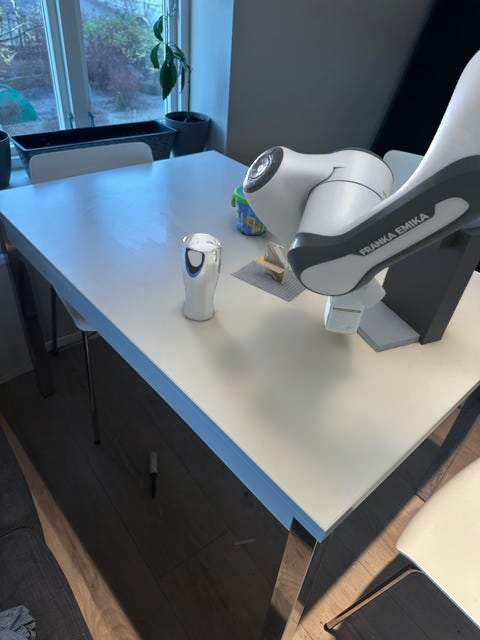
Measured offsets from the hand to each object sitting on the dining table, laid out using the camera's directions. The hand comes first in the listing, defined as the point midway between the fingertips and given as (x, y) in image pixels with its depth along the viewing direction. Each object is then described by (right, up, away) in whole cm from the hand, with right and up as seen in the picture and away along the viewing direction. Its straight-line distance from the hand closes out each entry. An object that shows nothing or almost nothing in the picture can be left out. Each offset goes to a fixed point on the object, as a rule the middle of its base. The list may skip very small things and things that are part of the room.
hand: (353, 284), depth 77 cm
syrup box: (-1, -7, +5) cm, 9 cm away
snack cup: (-17, +17, +40) cm, 47 cm away
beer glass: (-27, -5, +9) cm, 29 cm away
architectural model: (-12, +3, +22) cm, 25 cm away
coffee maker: (+10, -7, +12) cm, 18 cm away
